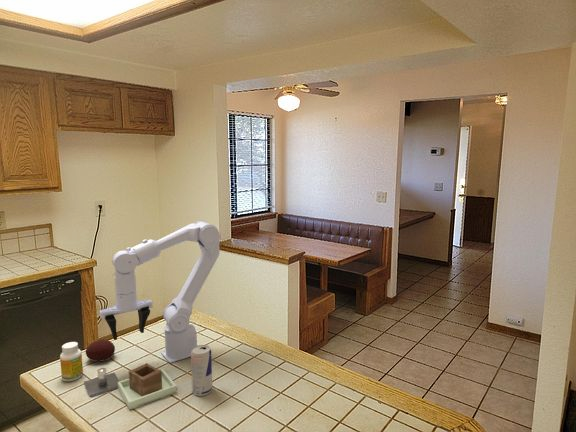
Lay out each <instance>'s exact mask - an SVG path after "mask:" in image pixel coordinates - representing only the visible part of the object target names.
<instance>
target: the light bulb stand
mask: <svg viewBox="0 0 576 432" xmlns="http://www.w3.org/2000/svg"><path fill="white" fill-rule="evenodd" d="M118 382H120V379H119V377H118V376H117V374H116V372H111V373H109V374H107V367H100V368H99V369H97V377H95V378H92V379H88V380H85V381H83V384H84V388H85V389H86V391H87V394H88V396H89V398H93V397H96V396H99V395H101V394H105V393H107V392H111V391H113V390H118Z"/></svg>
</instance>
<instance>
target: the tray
mask: <svg viewBox="0 0 576 432" xmlns="http://www.w3.org/2000/svg"><path fill="white" fill-rule="evenodd" d="M157 369H158V370H160V371H161V372H162V389H160V390H159V391H156V392H153V393H151V394H148V395H145V396H141V395H139V394H138V393H136V392H135V391H133V390H132V389H130V383H129V378H126V379H123V380H121V381H120V380H119V381H120V382H118V388H117V390H118V391H119V393H120V395H121V397H122V398H123V401H124V402H125V404H126V406H127V408H128V410H129V411H130V410H133V409H136V408H138V407H142V406H144V405H147V404H150V403H152V402H155V401H157V400H160V399H162V398H163V399H164V398H165V397H169V396H171V395H173V394H176V393H178V392H177V390H178V389H177V388H178V387H177V385H176V383H175V382H174V381H173V380H172V378H171V377H170V375H168V373H167V372H166V371H165V370H164V369H163V367H160V368H157Z"/></svg>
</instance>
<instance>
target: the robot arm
mask: <svg viewBox="0 0 576 432" xmlns="http://www.w3.org/2000/svg"><path fill="white" fill-rule="evenodd" d="M221 238H222V236H221V234H220V232H219V229H218V228H217V226H215V225H213V224H211V223H208V222H207V221H205V220H198V221H195V222H194V223H189V224H186V225H185V226H184V227H182V228H179V229H177V230H176V231H174V232H172V233H169V234H168V235H165V236H163V237H161V238H160V239H158V240H156V239H155V240H154V239H152V238H151V239H147V238H145V239H143V240H142V242H141V243H139V244H136V245H134V246H133V247H130V246H128V247H126V248H125V249H126V250H119V251H117V252H116V253H114V255H113V258H112V260H111V262H112V265H113V266H114V291H115V293H114V294H115V305H113V306H110V307H108V308H104V309H100V310H99V317H100V319H101V320H103V319H104V320H105V321H106V324H107V325H108V327H109V329H110V331H111V336H112V338H113V340H114V341H116V340H118V334H117V319H116V316H117V315H120V314H121V315H122V314H125V313H129V312H135V311H137V313H138V314H137V315H138V328H139V329H138V330H139V332H140V333H141V334H143V333H144V332H145V326H146V323H147V320H148V318H149V316H150V315H151V309H152V308H153V305H154V304H153V301H152V299H146V300H140V301H139V300H138V299H137V298H138V296H137V282H136V281H137V280H136V274H135V269H136V267H138V266H141V265H143V264H145V263H147V262H149V261H152V260H153V259H156V258H158V257H159V256H160V255H161V253H162V251H164V250H167V249H169V248H171V247H174V246H175V245H178V244H181V243H184V242H186V241H189V242H194V243H198V246H199V248H200V251H201V254H200V255H199V257H198V259H197V260H196V263H195V265H194V266H193V268H192V270H191V271H190V274H189V275H188V277H187V279H186V281H185V283H184V284H183V286H182V288H181V290H180V291H179V294H178V295H177V296H176V297H175V298H173V299H172V300H171V302H170V304H168V305H167V306H166V307H165V308H164V309H163V312H162V318H163V319H164V321H165V322H166V323H165V326H164V347H165V349H164V350H163V351H161V355H162V356H163V357H164V358H165V359H166V361H167V362H168V363H171V364H172V363H175V362H178V361H181V360H185V359H188V358H191V351H192V348H194V347H195V346H198V334H197V330H196V327H195V325H193V324H192V323H191V324H190V320H191V319H190V318H191V315H193V314H192V313H193V304H194V302H195V300H196V299H197V297H198V295H199V294H200V291H201V290H202V287H203V286H204V283H205V282H206V280H207V279H208V277H209V275H210V273H211V271H212V268H214V265H215V264H216V262H217V260H218V258H219V256H220V240H221Z"/></svg>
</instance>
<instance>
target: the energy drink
mask: <svg viewBox="0 0 576 432" xmlns="http://www.w3.org/2000/svg"><path fill="white" fill-rule="evenodd" d="M212 358H213V357H212V349H211V347H210V346H209V345H206V344H199V345H198V344H197V346H195V347H194V348H192V351H191V357H190V363H191V364H190V366H191V367H190V370H191V389H192V391H191V393H193V394H194V395H195V396H198V397H203V396H208V395H209V394H210V393H211V392H212V391H213V364H212V363H213V361H212V360H213V359H212Z"/></svg>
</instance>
